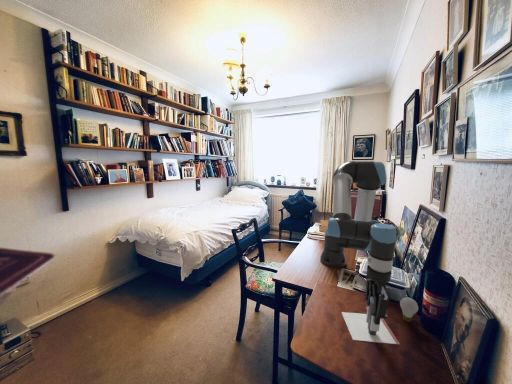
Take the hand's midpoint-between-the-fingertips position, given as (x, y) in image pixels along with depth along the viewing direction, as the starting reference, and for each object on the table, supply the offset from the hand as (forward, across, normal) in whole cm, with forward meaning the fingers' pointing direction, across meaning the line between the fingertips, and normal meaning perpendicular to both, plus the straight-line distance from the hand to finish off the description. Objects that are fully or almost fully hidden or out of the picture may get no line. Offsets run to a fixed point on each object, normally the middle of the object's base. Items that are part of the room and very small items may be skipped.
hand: (372, 326), depth 80 cm
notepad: (+3, -3, 0) cm, 4 cm away
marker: (+3, 0, 0) cm, 3 cm away
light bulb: (+3, -8, +17) cm, 19 cm away
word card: (+3, -12, +7) cm, 14 cm away
